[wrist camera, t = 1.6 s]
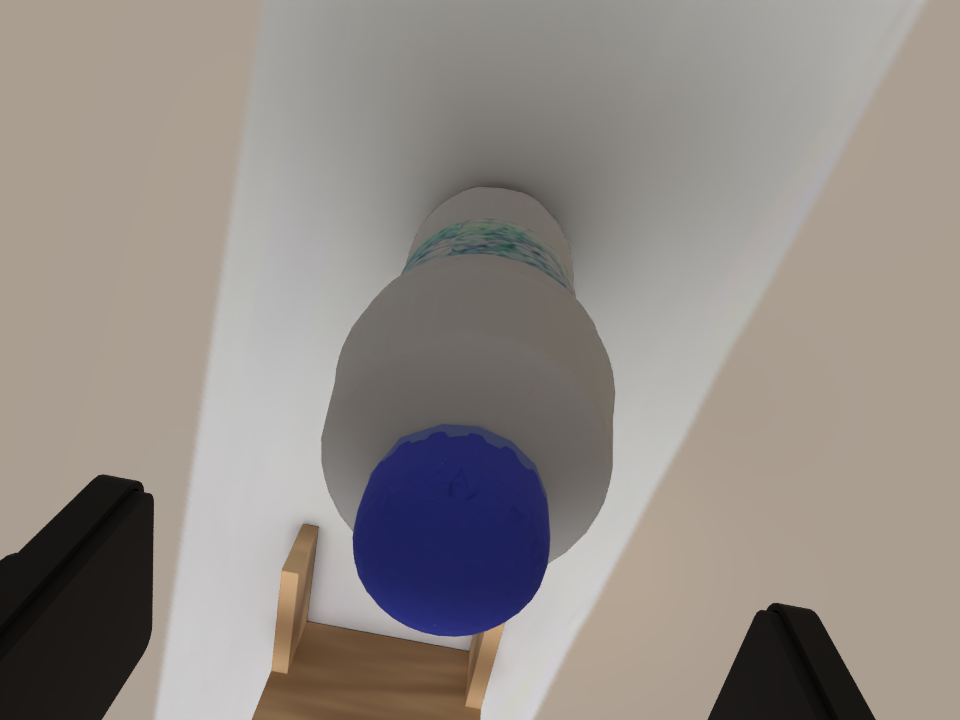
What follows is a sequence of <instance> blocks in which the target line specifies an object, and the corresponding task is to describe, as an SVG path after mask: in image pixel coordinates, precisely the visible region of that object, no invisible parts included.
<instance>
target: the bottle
mask: <svg viewBox="0 0 960 720" xmlns="http://www.w3.org/2000/svg"><path fill="white" fill-rule="evenodd" d="M614 400H615V387H614V378H613V371H612V368H611V364H610V361H609V357H608V354H607V352H606V350H605V347H604V345H603V343H602V341H601V339H600V337H599V335H598V333H597V330H596V328H595V325H594V323H593V321H592V320H591V318H590V317H589V315H588V314H587V312H586V311H585V309H584V308H583V306H582V305H581V304H580V302H579V301H578V300H577V299H576V295H575V291H574V287H573V264H572V258H571V253H570V248H569V245H568V243H567V240H566V237H565V235H564V233H563V232H562V230H561V228H560V226H559V225H558V223H557V221H556V220H555V219H554V218H553V217H552V216H551V214H550V213H549V212H548V211H547V210H546V209H545V208H544V207H543V205H542V204H540V203H539V202H538V201H537V200H536V199H534V198H532V197H531V196H529V195H527V194H525V193H522V192H517V191H513V190H509V189H504V188H492V187H475V188H471V189H468V190H464V191H462V192H460V193H458V194H457V195H455V196H453V197H452V198H450V199H448V200H447V201H445V202H443V203H442V204H441V205H440V206H439V207H438V208H437V209H435V210H434V211H433V212H432V213H431V214H430V215H429V216H428V218H427V219H426V220H425V222H424V223H423V225H422V226H421V227H420V229H419V231H418V233H417V234H416V236H415V239H414V242H413V244H412V247H411V249H410V252H409V256H408V259H407V263H406V266H405V268H404V270H403V272H402V274H401V276H399V277H398V278H396V279H395V280H393V281H392V282H391V283H390V284H389V285H388V286H387V287H385V288H384V289H383V290H382V291H381V292H380V294H379V295H378V296H377V297H376V298H375V299H374V300H373V301H372V302H371V304H370V305H369V307H368V308H367V309H366V310H365V311H364V312H363V314H362V315H361V316H360V318H359V319H358V320H357V322H356V323H355V324H354V326H353V327H352V329H351V331H350V333H349V335H348V337H347V339H346V341H345V343H344V345H343V347H342V350H341V353H340V356H339V360H338V364H337V368H336V377H335V384H334V388H333V392H332V396H331V400H330V404H329V408H328V412H327V416H326V420H325V425H324V429H323V433H322V438H321V441H322V467H323V472H324V477H325V481H326V484H327V487H328V491H329V493H330V495H331V498H332V500H333V502H334V504H335V506H336V508H337V510H338V512H339V514H340V516H341V517H342V518H343V520H344V521H345V522H346V523H347V525H348V526H349V527H350V529H351V530H352V531H353V553H354V560H355V564H356V567H357V572H358V576H359V578H360V580H361V582H362V583H363V585H364V587H365V589H366V591H367V592H368V593H369V594H370V595H371V597H372V598H373V599H374V600H375V602H376V603H377V604H378V605H379V606H380V607H381V608H382V609H383V610H384V611H385V612H386V613H388V614H389V615H390V616H391V617H393V618H394V619H395V620H397V621H399V622H401V623H402V624H404V625H406V626H408V627H410V628H413V629H415V630H418V631H421V632H424V633H429V634H433V635H438V636H453V637H455V636H467V635H474V634H477V633H481V632H485V631H488V630H490V629H492V628H495V627H497V626H499V625H501V624H503V623H504V622H506V621H507V620H509V619H510V618H512V617H513V616H514V615H516V614H518V613H519V612H520V611H521V610H522V609H523V608H524V607H525V606H526V605H527V604H528V603H529V602H530V601H531V600H532V598H533V597H534V595H535V594H536V592H537V591H538V589H539V588H540V585H541V582H542V579H543V577H544V574H545V571H546V568H547V565H548V563H550V562H551V561H553V560H554V559H556V558H558V557H559V556H561V555H562V554H564V553H566V552H567V551H568V550H569V549H570V548H571V547H572V546H573V545H574V544H575V543H576V542H577V541H578V540H579V539H580V538H581V537H582V536H583V535H584V534H585V533H586V532H587V530H588V529H589V527H590V526H591V524H592V523H593V521H594V520H595V518H596V517H597V515H598V513H599V511H600V509H601V507H602V505H603V504H604V501H605V497H606V494H607V491H608V487H609V484H610V479H611V473H612V464H613V413H614Z"/></svg>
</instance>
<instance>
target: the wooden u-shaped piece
mask: <svg viewBox="0 0 960 720" xmlns="http://www.w3.org/2000/svg"><path fill="white" fill-rule="evenodd" d="M318 528H319V527H316V526H311V525H305V524H303V525H302V527H301V529H300V532H299V534H298V536H297V538H296V540H295V542H294V545H293V547H292V549H291V551H290V553H289V556H288V558H287V560H286V562H285V564H284V566H283V569H282V571H281V580H280V590H279V600H278V610H277V620H276V630H275V640H274V650H273V659H272V669H271V673H270V675H269V678H268V680H267V683H266V685H265V688H264V690H263V693H262V695H261V698H260V700H259V703H258V705H257V708H256V710H255V713H254V715H253V718H252V720H480V714H481V707H482V703H483V699H484V696H485V692H486V689H487V685H488V681H489V678H490V674H491V670H492V667H493V663H494V660H495V656H496V652H497V649H498V645H499V642H500V638H501V634H502V631H503V627H504V623H505V622H504V623H503V624H501V625H499V626H497V627H495V628H492V629H490V630H488V631H485V632H481V633H477V634H474V636H473V640H472V644H471V648H470V652H468V651H463V650H457V649H452V648H447V647H441V646H436V645H430V644H425V643H420V642H414V641H409V640H403V639H398V638H393V637H387V636H382V635H377V634H371V633H366V632H360V631H355V630H350V629H344V628H339V627H333V626H328V625H323V624H317V623H312V622H307V616H308V608H309V600H310V592H311V584H312V576H313V568H314V560H315V552H316V544H317V536H318Z"/></svg>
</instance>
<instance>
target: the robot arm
mask: <svg viewBox="0 0 960 720" xmlns="http://www.w3.org/2000/svg"><path fill="white" fill-rule="evenodd" d="M153 524H154V499H153V496H152V494H150V493H145V492H144V487H143V485H142V483H141V482H139V481H135V480H130V479H125V478H119V477H114V476H109V475H98V476H97V477H96V478H94V479H93V480H92V481H91V482H90V483H89V484H88V485H87V486H86V487H85V488H84V489H83V490H82V491H81V492H80V493H79V494H78V495H77V496H76V497H75V498H74V499H73V500H72V501H70V502H69V504H67V505H66V506H65V507H64V508H63V509H62V510H61V511H60V512H59V513H58V514H57V515H56V516H55V517H54V518H53V519H52V520H51V521H50V522H49V523H48V524H47V525H46V526H45V527H44V528H43V529H42V530H41V531H40V532H39V533H38V534H37V535H36V536H34V537H33V538H32V539H31V540H30V541H29V542H28V543H27V544H26V545H25V546H24V547H23V548H22V549H21V550H20V551H19V552H18V553H14V554H11V555H8V556H6V557H5V558H3V559H2V560H0V720H102V718H103V717H104V715H105V714H106V712H107V711H108V709H109V707H110V706H111V704H112V702H113V701H114V699H115V698H116V696H117V695H118V693H119V692H120V690H121V688H122V687H123V685H124V683H125V682H126V681H127V679H128V677H129V676H130V674H131V673H132V671H133V669H134V668H135V666H136V665H137V663H138V662H139V660H140V659H141V657H142V655H143V654H144V652H145V650H146V648H147V645H148V643H149V640H150V636H151V631H152V597H153V528H154V527H153ZM708 720H876V719H875V718H874V716H873V714H872V712H871V710H870V709H869V707H868V705H867V703H866V702H865V700H864V698H863V696H862V694H861V692H860V691H859V689H858V687H857V685H856V683H855V682H854V680H853V678H852V676H851V675H850V672H849V671H848V669H847V667H846V665H845V664H844V662H843V660H842V658H841V656H840V654H839V653H838V651H837V649H836V647H835V646H834V644H833V642H832V640H831V638H830V636H829V635H828V633H827V631H826V629H825V627H824V626H823V624H822V622H821V620H820V618H819V617H818V615H817V614H816V613H815V612H814V611H812V610H811V609H806V608H801V607H795V606H790V605H784V604H780V603H773V604H771V605H770V606H769V607H768V608H767V610H766V611H765V610H760V611H758V612H757V613H756V615H755V617H754V619H753V621H752V624H751V626H750V628H749V630H748V632H747V634H746V636H745V639H744V641H743V643H742V645H741V647H740V650H739V652H738V654H737V656H736V658H735V661H734V663H733V665H732V667H731V669H730V672H729V674H728V676H727V678H726V680H725V683H724V685H723V687H722V689H721V691H720V694H719V696H718V698H717V700H716V703H715V704H714V707H713V709H712V711H711V713H710V716H709V718H708Z"/></svg>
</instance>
